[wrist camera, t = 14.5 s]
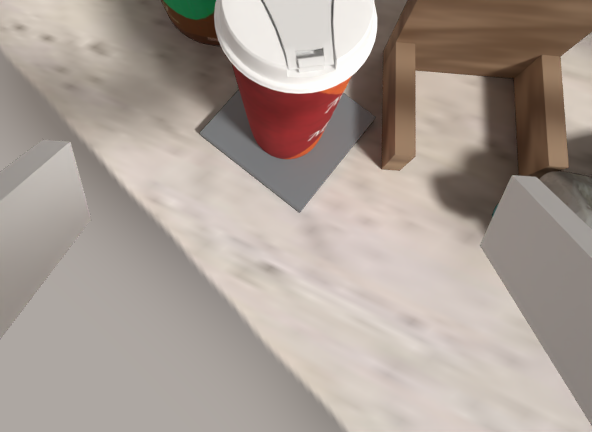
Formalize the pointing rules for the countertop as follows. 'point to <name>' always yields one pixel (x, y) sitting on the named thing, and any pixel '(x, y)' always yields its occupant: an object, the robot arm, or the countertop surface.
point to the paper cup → (293, 63)
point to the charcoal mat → (288, 172)
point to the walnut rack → (486, 68)
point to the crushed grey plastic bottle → (571, 192)
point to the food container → (194, 19)
